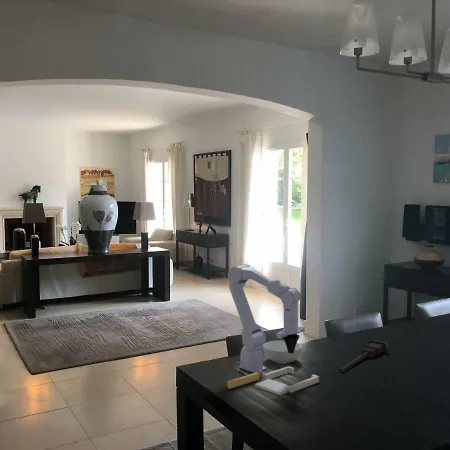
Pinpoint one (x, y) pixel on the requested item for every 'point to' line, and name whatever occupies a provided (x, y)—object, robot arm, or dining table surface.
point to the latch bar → (245, 379)
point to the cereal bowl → (280, 352)
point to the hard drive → (273, 386)
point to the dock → (288, 369)
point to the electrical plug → (368, 353)
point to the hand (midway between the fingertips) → (290, 352)
